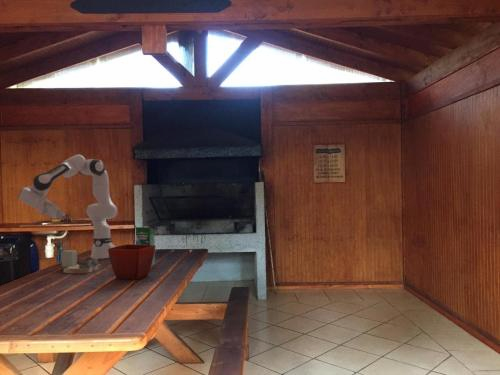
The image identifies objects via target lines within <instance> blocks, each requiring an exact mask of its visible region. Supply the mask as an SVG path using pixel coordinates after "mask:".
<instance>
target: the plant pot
mask: <svg viewBox="0 0 500 375" xmlns="http://www.w3.org/2000/svg"><path fill="white" fill-rule="evenodd" d="M155 251H156V244H155V245H136V244H123V245H118V246H116V247H113V248H109V249H108V252H109V257H110V258H109V260H110V264H111V268H112V271H113V274H114V275H115V278H116V279H119V280H120V279H121V280H132V281H133V280H134V281H135V280H139V279H141V278H144V277H147V276H148V275H149V273H150V270H151V267H152V266H151V264H152V261H153V256H154V252H155Z"/></svg>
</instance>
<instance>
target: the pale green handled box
mask: <svg viewBox="0 0 500 375" xmlns="http://www.w3.org/2000/svg"><path fill="white" fill-rule="evenodd" d="M64 246H65V247H64ZM61 248H62V249H61V268H62V270H64V269H65V268H68V267H71V266H74V265H77V264H78V254H77V253H78V251H77V250H76V249H75V250H74V249H72V250H71V249H68V243H63V244H61Z"/></svg>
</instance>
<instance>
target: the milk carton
mask: <svg viewBox="0 0 500 375" xmlns="http://www.w3.org/2000/svg"><path fill="white" fill-rule="evenodd" d="M135 245H155V246H156V244H155V229H154V228H152V227H150V226H145V225H144V226H142V227H141V226H140V227H139V226H136V227H135ZM155 254H156V253H155V252H154V256H153V261H152V264H151V267H152V266H154V265H155V263H156V260H155V259H156V257H155V256H156V255H155Z"/></svg>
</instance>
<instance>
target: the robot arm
mask: <svg viewBox="0 0 500 375" xmlns="http://www.w3.org/2000/svg"><path fill="white" fill-rule="evenodd" d="M76 174H80V175H82V176H91V178H92V195H93V197H94V198H95V200H96V201H97V203H92V204H89V205H88V206H87V207H86V210H85V211H86V214H87V216H88V217H89V219H90V220H91V223H92V226H93V238H92V239H93V240H92V242H93V244H92V246H91V255H90V256H89V257H90V258H98V260H102V259H110V257H109V252H108V249H109V248H113V247H117V246H116V245H115V244H113V242H112V241H113V240H114V238H113V237H112V236H111V226H110V225H109V224H108V223H107V220H108V219H109V220H110V219H114V218H115V217H116V216H117V214H118V208H117V206H116V205H115V203H114V202H113V201H112V199H111V195H110V181H109V174H108V171H107V170H106V168H105V164H104V162H103V161H102V160H100V159H96V158H93V159H92V158H91V159H90V158H88V159H86V158H85V157H84V156H83V155H81V154H75V155H73V156H71V157H68V158H67V159H65V160H64V161H62V162H61V163H60V164H59V165H57V166H55V167H53V168H51V169H49V171H46V172H43V173H39V174H37V175H35V176H34V178H33V179H32V180H33V182H32V184H31V185H29V186H25V187H22V188H21V189H20V191H19V193H18V196H17V197H18V200H19V201H21V203H23V204H25V205H27V206H28V207H31V208H33V209H34V210H36V211H37V212H39V213H40V214H42V215H46V216H48V217H49V218H51V219H54V220H57V219H59V220H62V221H64V220H65V218H66V217H65V216H67V215H66V213H65V212H63V211H62V210H61V207H60V206H59V205H57V204H55V203H53V202H52V201H51V200H49V199H48V198H46V196H47V195H48V194H49V191H50V188H51V186H52V183H53V182H54V181H55V180H57V179H58V178H60V177H64V178H65V179H67V178H68V179H69V178H72V177H74V176H75V175H76Z"/></svg>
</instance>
